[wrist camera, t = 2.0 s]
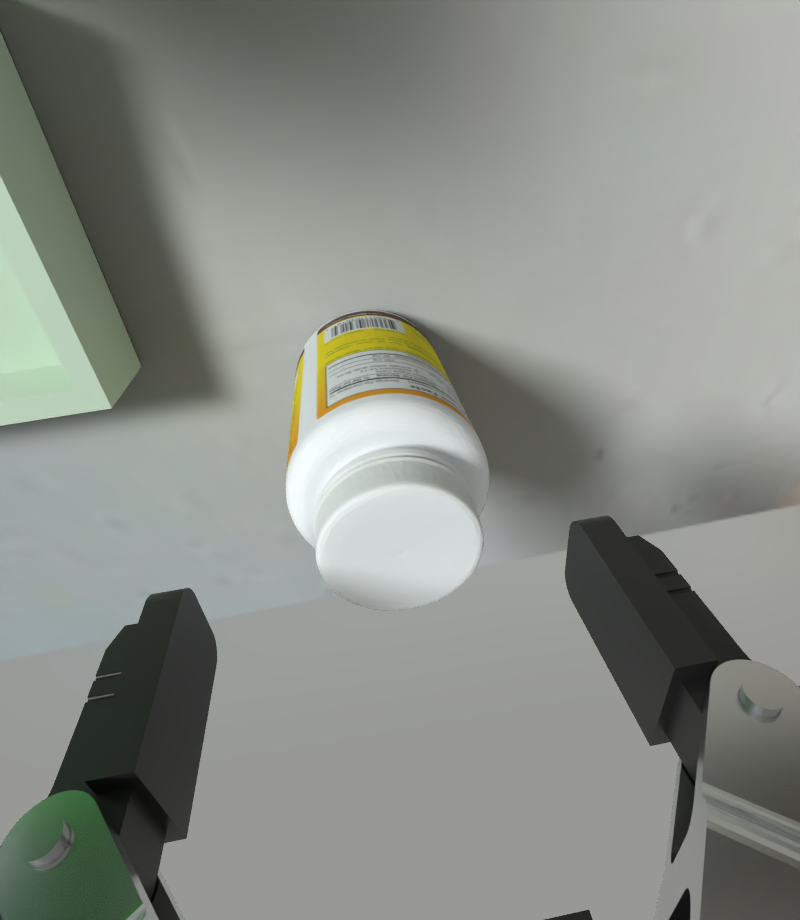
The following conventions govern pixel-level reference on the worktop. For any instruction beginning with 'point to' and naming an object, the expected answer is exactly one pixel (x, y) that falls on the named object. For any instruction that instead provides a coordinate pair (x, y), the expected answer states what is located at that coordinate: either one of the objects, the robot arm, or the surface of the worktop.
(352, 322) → the supplement bottle
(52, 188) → the tray
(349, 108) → the worktop surface
